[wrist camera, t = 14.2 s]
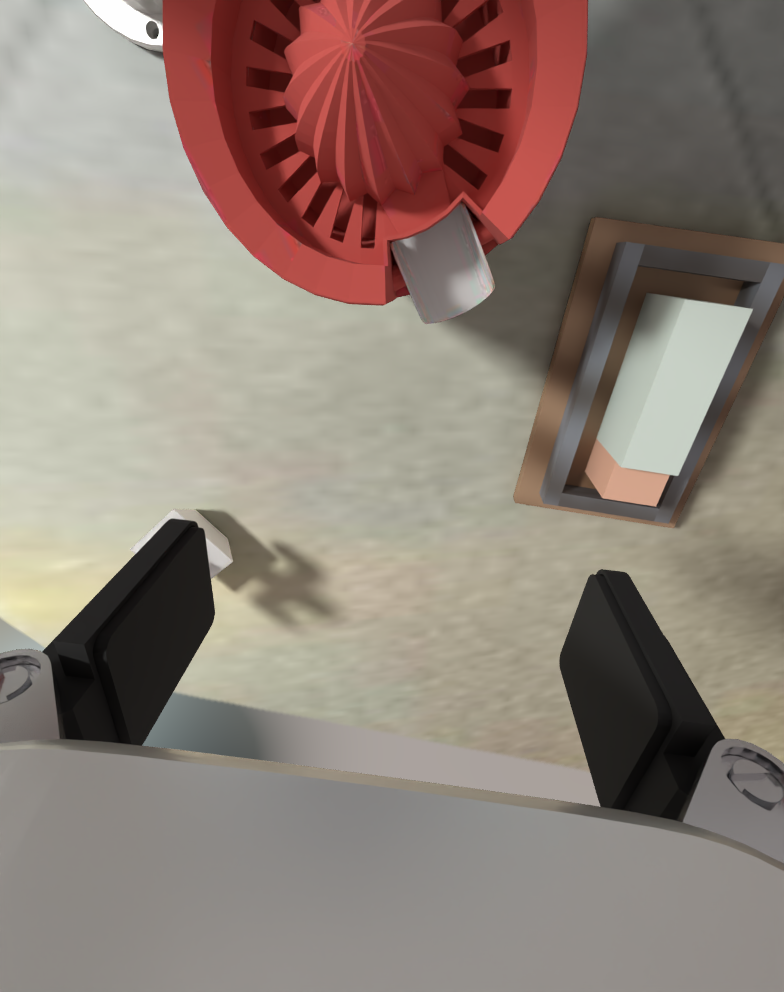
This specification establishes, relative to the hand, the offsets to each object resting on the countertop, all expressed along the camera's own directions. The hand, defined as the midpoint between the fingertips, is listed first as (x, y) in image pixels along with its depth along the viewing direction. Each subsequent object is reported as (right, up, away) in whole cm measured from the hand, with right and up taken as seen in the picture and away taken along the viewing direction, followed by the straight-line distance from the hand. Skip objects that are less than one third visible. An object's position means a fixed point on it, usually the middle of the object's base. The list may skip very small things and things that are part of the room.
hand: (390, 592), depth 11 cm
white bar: (+19, +10, +25) cm, 33 cm away
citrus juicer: (+1, +25, +21) cm, 33 cm away
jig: (+19, +11, +26) cm, 34 cm away
